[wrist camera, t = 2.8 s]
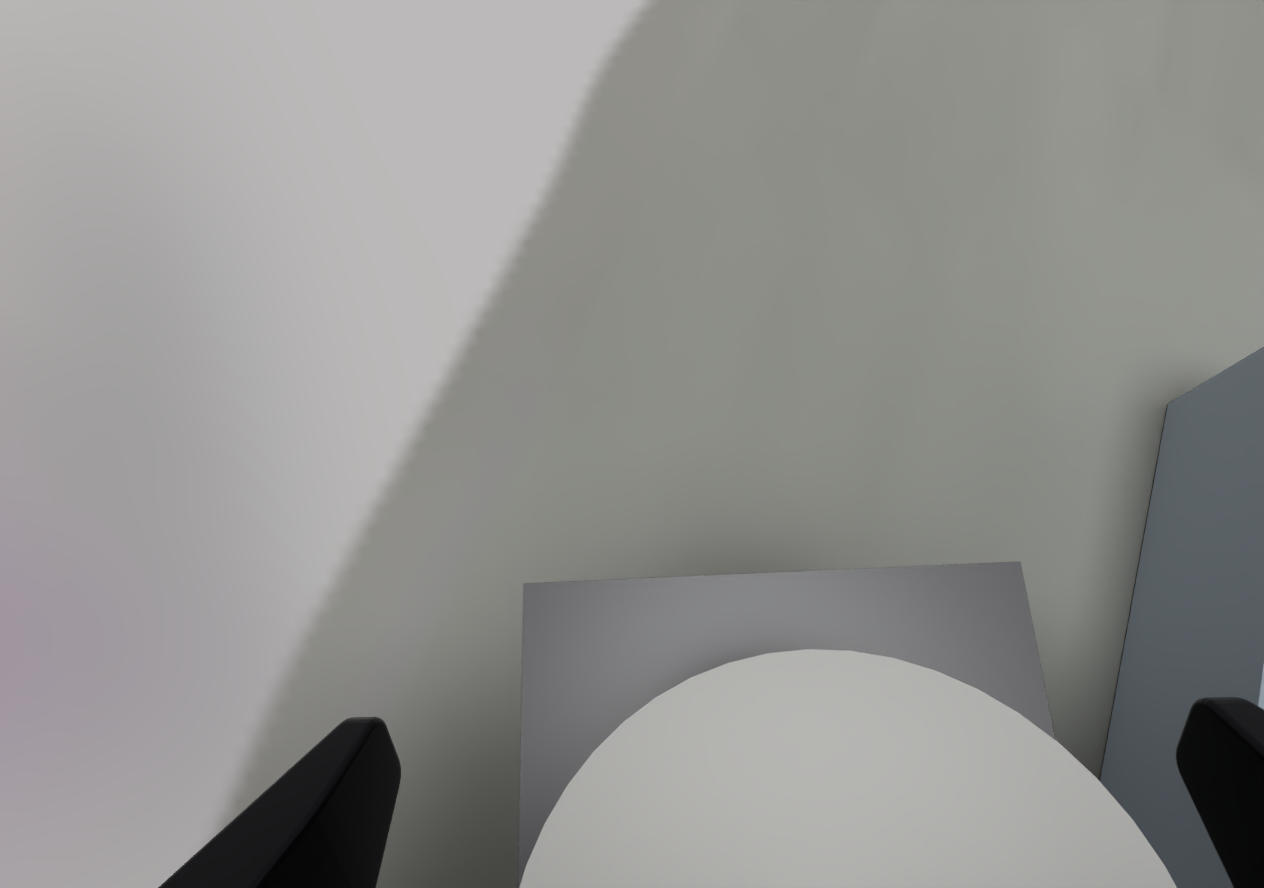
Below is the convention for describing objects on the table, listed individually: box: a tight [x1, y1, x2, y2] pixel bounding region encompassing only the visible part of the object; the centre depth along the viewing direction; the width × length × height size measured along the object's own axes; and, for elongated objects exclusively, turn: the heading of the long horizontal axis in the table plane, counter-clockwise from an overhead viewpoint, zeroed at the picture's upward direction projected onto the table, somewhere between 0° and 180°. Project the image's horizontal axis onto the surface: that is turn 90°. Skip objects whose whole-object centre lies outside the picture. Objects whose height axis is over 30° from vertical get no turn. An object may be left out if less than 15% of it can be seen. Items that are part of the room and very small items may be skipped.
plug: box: [518, 562, 1177, 888], centre depth 9 cm, size 4×4×12 cm
